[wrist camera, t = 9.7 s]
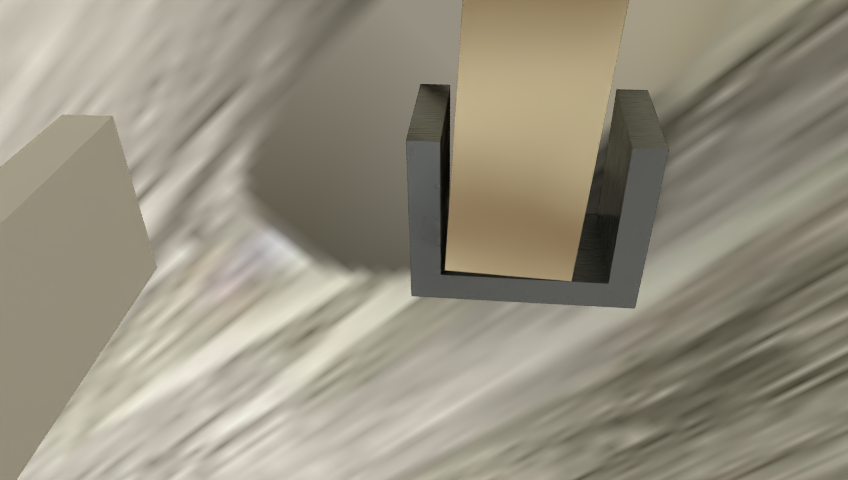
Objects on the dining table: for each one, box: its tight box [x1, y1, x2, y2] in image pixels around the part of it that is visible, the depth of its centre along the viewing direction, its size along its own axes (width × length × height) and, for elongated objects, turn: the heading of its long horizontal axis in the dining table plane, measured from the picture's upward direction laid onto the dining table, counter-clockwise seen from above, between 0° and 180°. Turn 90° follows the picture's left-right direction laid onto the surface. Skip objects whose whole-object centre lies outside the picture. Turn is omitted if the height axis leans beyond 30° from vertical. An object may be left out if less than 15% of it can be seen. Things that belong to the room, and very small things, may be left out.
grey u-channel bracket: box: [406, 84, 669, 308], centre depth 24 cm, size 6×8×4 cm
